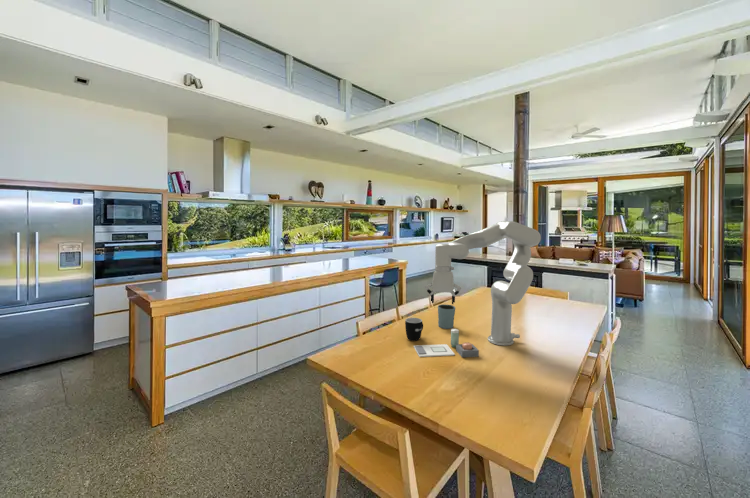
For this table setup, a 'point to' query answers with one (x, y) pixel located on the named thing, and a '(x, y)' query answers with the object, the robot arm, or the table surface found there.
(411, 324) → the mug
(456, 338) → the marker
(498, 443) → the table surface
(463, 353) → the button housing
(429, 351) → the picture board
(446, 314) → the blue-gray cup
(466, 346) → the button
